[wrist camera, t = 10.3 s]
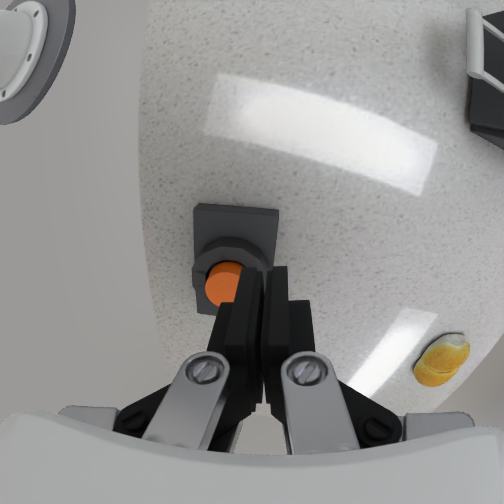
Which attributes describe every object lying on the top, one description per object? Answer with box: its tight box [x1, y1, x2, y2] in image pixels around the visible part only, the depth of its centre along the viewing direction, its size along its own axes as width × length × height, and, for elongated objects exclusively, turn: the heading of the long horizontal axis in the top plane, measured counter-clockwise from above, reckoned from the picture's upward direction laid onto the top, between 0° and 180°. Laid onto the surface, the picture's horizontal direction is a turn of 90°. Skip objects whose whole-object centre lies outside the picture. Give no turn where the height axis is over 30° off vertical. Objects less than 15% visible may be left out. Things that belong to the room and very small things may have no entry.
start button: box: [205, 262, 245, 306], centre depth 23 cm, size 4×4×2 cm
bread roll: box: [414, 334, 470, 387], centre depth 29 cm, size 8×9×4 cm
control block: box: [192, 203, 279, 316], centre depth 25 cm, size 11×7×4 cm, turn 176°
